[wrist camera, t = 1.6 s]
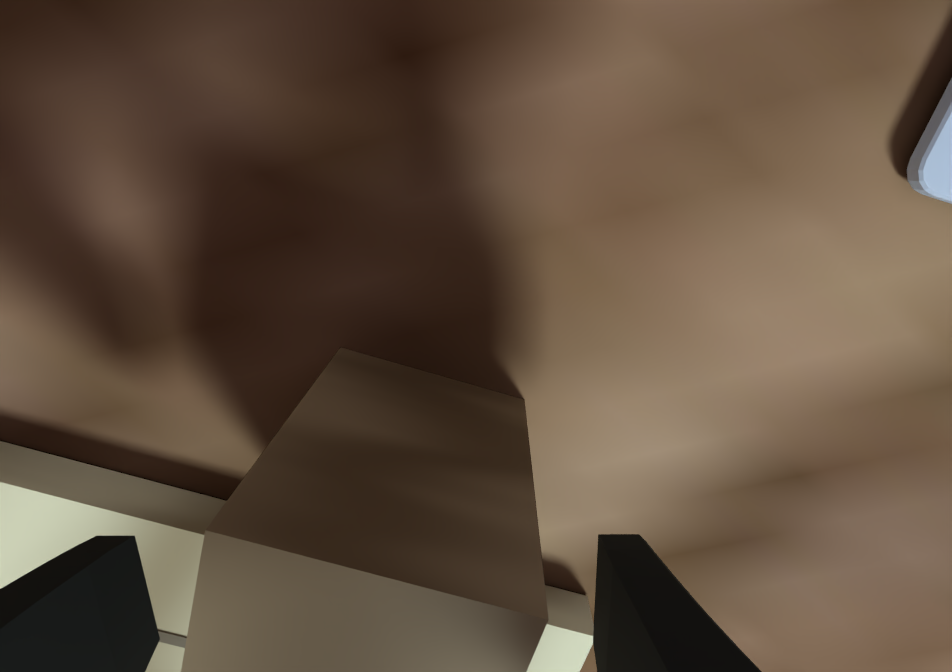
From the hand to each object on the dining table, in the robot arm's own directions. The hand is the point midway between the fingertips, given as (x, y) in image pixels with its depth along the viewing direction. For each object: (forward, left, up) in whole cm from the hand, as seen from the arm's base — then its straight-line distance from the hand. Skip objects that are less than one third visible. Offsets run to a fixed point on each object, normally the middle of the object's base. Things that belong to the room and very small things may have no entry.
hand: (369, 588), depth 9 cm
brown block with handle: (0, +4, -4) cm, 6 cm away
